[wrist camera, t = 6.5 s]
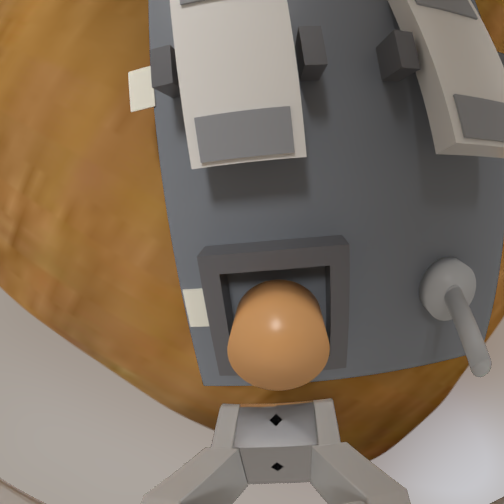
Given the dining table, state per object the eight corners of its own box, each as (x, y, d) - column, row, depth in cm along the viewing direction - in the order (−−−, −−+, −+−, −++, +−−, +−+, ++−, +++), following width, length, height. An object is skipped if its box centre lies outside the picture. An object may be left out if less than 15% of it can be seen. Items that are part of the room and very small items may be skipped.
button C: (230, 282, 13) (220, 312, 10) (320, 275, 12) (330, 304, 10) (241, 355, 14) (234, 392, 11) (321, 350, 13) (328, 386, 11)
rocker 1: (178, -15, 9) (165, -31, 7) (277, -30, 8) (278, -49, 7) (201, 162, 12) (190, 170, 10) (302, 151, 12) (307, 157, 10)
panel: (149, 18, 13) (75, -47, 5) (449, 10, 11) (522, -38, 4) (196, 355, 19) (159, 452, 11) (461, 327, 17) (521, 400, 10)
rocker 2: (386, -3, 9) (395, -26, 8) (455, 11, 9) (468, -7, 7) (436, 154, 10) (458, 141, 8) (507, 158, 9) (531, 149, 7)
